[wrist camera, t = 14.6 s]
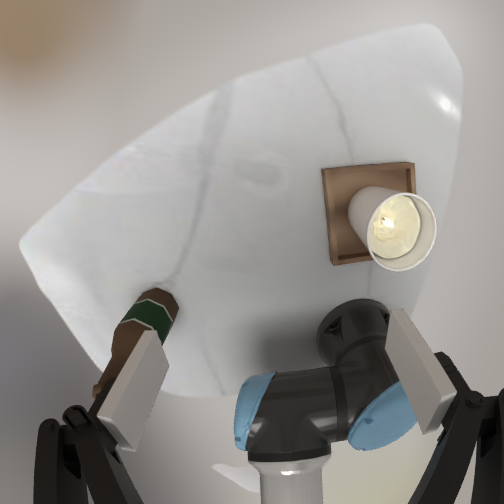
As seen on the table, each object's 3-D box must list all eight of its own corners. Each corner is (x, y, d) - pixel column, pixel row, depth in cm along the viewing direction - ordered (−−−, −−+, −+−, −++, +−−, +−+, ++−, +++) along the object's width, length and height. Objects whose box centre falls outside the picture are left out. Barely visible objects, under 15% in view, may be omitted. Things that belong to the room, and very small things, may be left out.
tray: (409, 247, 44) (416, 252, 42) (330, 259, 46) (333, 265, 44) (407, 162, 40) (414, 163, 37) (321, 168, 41) (324, 170, 39)
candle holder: (354, 171, 40) (384, 180, 29) (407, 193, 41) (447, 209, 29) (333, 231, 43) (354, 260, 32) (386, 249, 44) (418, 280, 33)
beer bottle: (133, 302, 51) (69, 389, 28) (156, 278, 49) (89, 368, 26) (163, 329, 53) (115, 425, 30) (188, 307, 50) (142, 409, 28)
